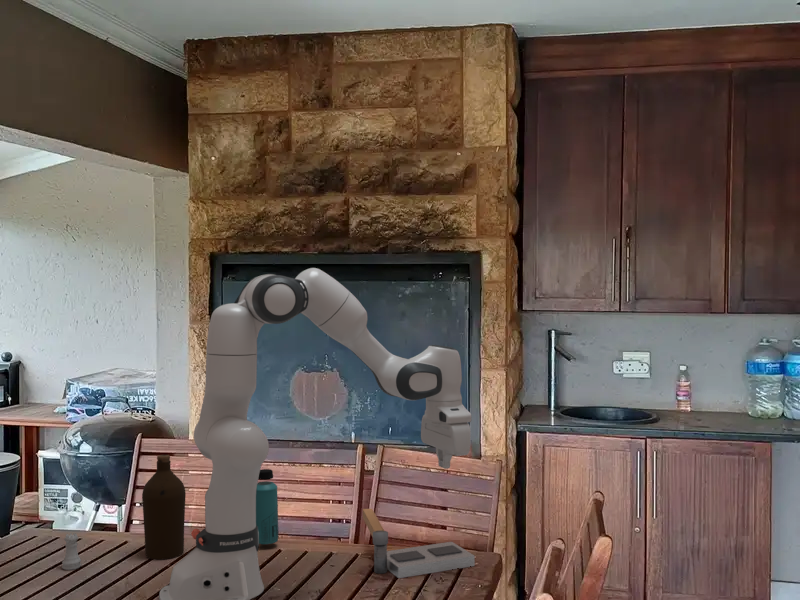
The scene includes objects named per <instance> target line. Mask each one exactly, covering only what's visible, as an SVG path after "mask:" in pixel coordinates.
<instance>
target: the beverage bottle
mask: <svg viewBox="0 0 800 600" xmlns="http://www.w3.org/2000/svg"><path fill="white" fill-rule="evenodd" d="M273 471H274V470H272V469H269V468H262V469H260V473H259V478H258V480H260V482H258V483H257V489H256V526H258V533H259V545H271V544H275V543H277V542H278V541H279V534H280V532H279V531H280V530H279V500H278V485H277V484H276V483H274V482H273V481H266V480H272V479H274V474H273V473H274V472H273ZM261 480H263V481H261Z"/></svg>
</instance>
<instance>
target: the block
mask: <svg viewBox="0 0 800 600" xmlns="http://www.w3.org/2000/svg"><path fill="white" fill-rule="evenodd" d="M373 551H374V553H373V559H374V560H373V562H374V563H373V566H374V567H373V568H374V569H373V571H374V573H376V574H382V575H383V574H387V572H388V571H389V572H390V573H391V574H393V576H395V577H396V578H398V579H403V578H409V577H410V578H411V577H414V576H421V575H427V574H434V573H438V572H440V573H441V572H444V571H452V569H453V570H458V569H457V568H459V569H465V568H471V567H475V555H474V554H473V553H471V552H470V551H467V550H466V549H465V548H463V547H461V546H459V545H458V544H457V543H455V542H453V541H448V542H447V541H446V542H440V543H433V544H428V545H427V544H425V545H419V546H412V547H407V548H406V547H405V548H400V549H399V548H397V549H392V550H388V544H386V545H375V544H373ZM470 566H471V567H470Z"/></svg>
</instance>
